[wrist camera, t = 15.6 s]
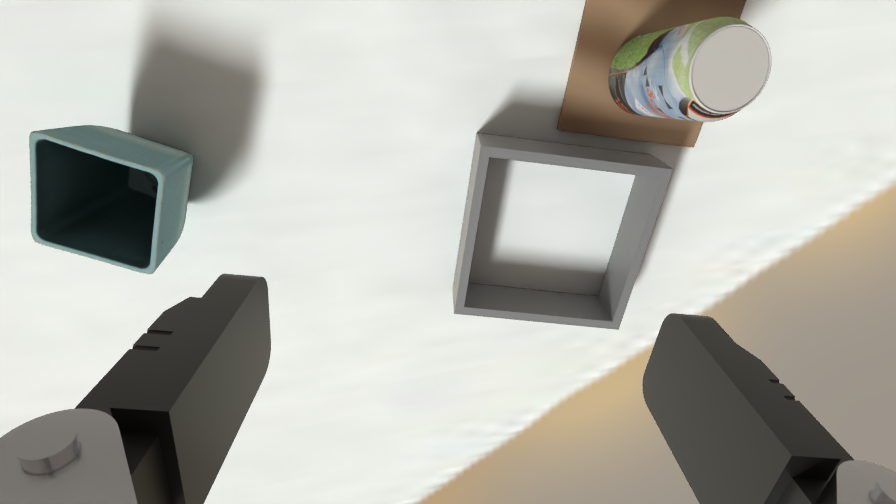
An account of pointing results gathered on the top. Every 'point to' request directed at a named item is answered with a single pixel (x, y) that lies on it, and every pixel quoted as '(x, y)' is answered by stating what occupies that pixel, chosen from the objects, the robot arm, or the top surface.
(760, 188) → the top surface
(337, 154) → the top surface
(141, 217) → the flower pot
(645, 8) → the pad
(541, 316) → the bin
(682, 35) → the beverage can
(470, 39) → the top surface
